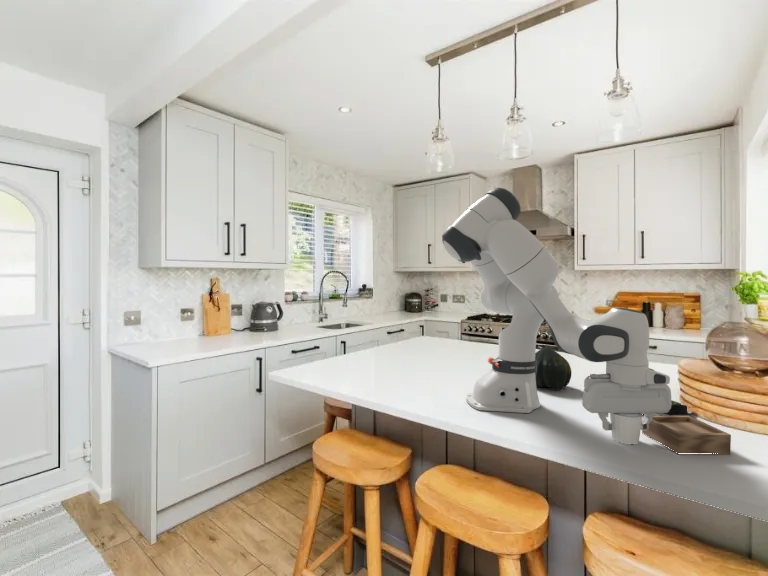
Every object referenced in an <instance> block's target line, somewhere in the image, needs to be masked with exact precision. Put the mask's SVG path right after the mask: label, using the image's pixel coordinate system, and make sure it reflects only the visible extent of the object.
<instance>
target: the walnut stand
mask: <svg viewBox="0 0 768 576" xmlns="http://www.w3.org/2000/svg"><path fill="white" fill-rule="evenodd" d="M643 417H644V415H642V418H643ZM643 433H644V434H646V435H647V436H646V435H645V436H646V437H648V436H649V437H651V438H652V439H651V438H650V439H651V440H653V439H654V440H656V441H658V442H660V443H662V444H663V445H665V446H667V447H669V448H670V449H672V450H674V451H675V452H677V453H712V454H711V455H731V448H732V447H731V445H732V444H731V443H732V442H731V441H732V434H731V433H727V432H725V431H723V430H721V429H719V428H717V427H715V426H712V425H710V424H708V423H705V422H704V421H701V420H699V419H697V418H694V417H693V416H691V417H690V416H654V418H653V419H652V421H651V422H650V423H649V430H641V434H643ZM644 434H643V435H644ZM649 437H648V438H649ZM654 440H653V441H654ZM656 441H655V442H656ZM658 442H657V443H658ZM663 445H662V446H663ZM713 453H714V454H713ZM715 453H716V454H715ZM717 453H718V454H717Z"/></svg>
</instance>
